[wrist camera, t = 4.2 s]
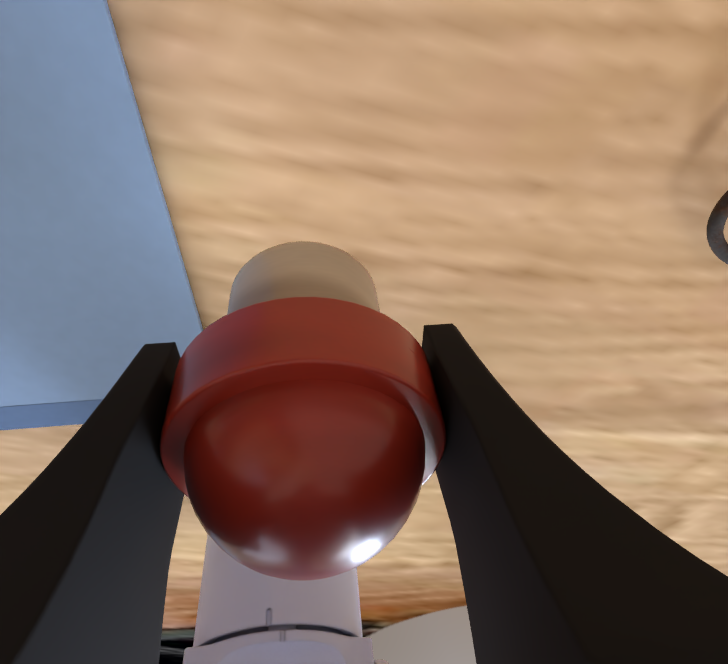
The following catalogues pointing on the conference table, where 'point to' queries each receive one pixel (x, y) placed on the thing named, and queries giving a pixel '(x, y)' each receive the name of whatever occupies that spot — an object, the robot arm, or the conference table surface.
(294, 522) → the mushroom
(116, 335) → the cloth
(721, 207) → the telephone
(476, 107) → the conference table surface
